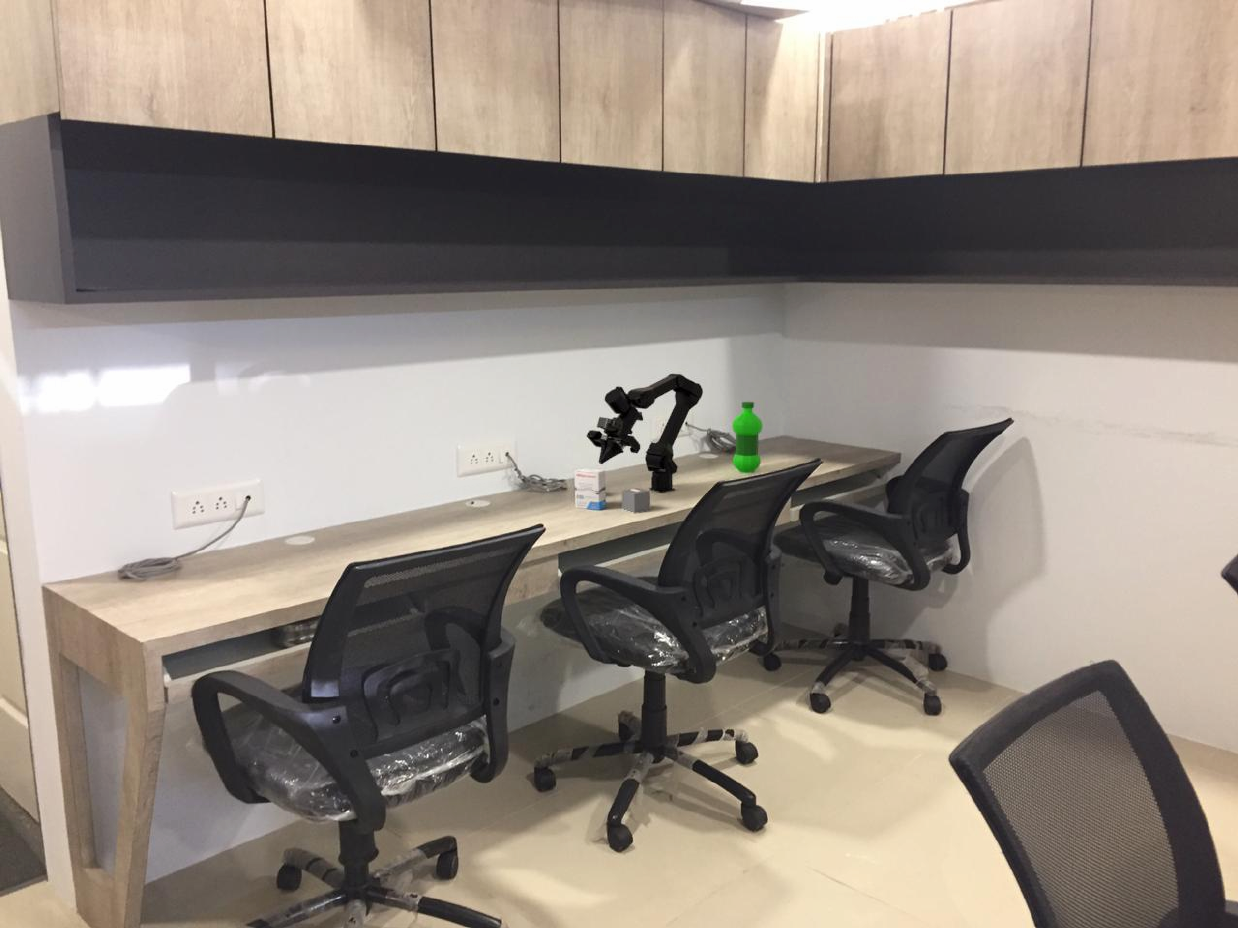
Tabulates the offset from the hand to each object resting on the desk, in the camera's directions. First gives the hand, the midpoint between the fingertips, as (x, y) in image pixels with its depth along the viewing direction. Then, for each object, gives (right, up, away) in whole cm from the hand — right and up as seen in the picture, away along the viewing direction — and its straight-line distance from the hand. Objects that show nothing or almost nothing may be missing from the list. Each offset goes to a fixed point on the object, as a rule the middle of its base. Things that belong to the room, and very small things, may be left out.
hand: (600, 463), depth 303 cm
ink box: (-3, -14, -1) cm, 14 cm away
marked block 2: (+11, -14, -4) cm, 18 cm away
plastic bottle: (+52, -3, +53) cm, 74 cm away
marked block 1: (-5, -11, +14) cm, 19 cm away
